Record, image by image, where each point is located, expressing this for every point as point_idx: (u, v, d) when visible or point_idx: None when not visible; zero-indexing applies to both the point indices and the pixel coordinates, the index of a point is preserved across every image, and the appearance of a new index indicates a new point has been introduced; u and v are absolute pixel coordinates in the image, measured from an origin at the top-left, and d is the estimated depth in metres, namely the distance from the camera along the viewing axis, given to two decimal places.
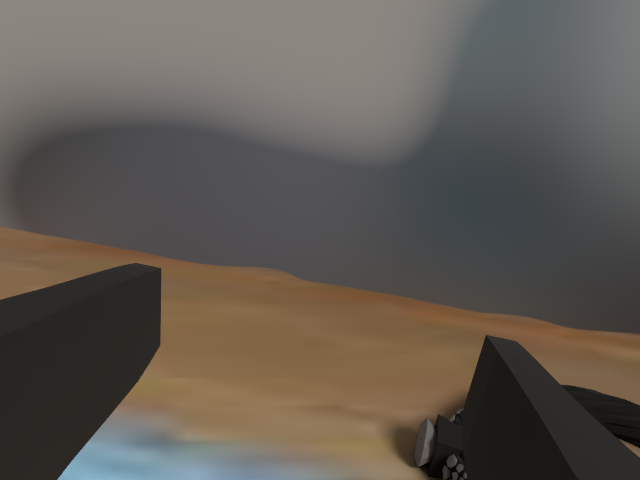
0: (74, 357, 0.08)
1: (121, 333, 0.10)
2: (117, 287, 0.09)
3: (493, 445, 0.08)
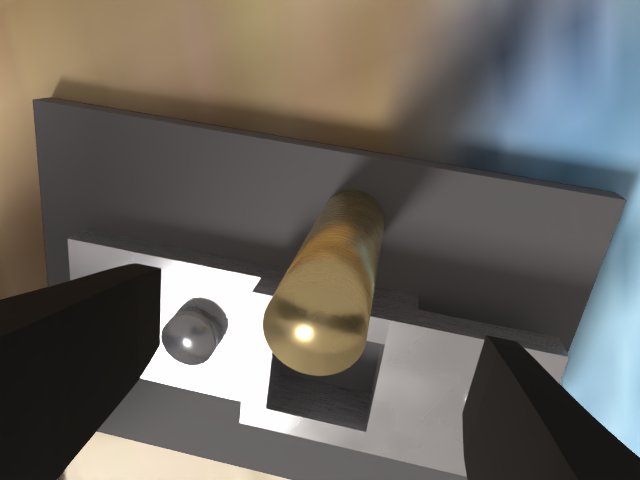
0: (74, 357, 0.08)
1: (121, 333, 0.10)
2: (117, 287, 0.09)
3: (492, 445, 0.08)
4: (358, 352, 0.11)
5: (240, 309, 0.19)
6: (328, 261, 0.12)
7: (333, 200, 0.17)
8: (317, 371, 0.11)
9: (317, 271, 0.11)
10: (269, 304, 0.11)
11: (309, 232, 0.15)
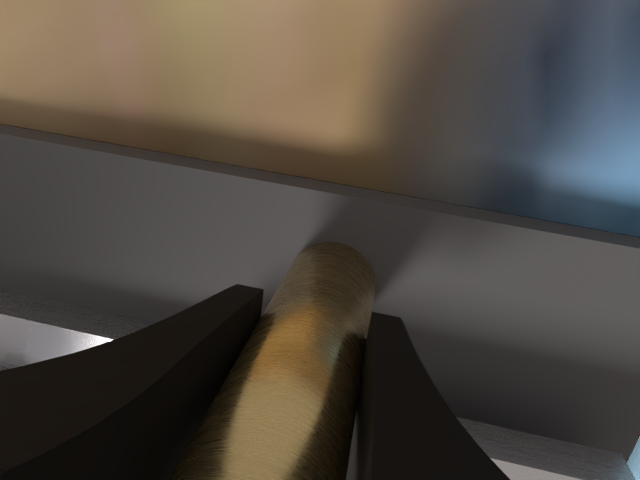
0: (204, 387, 0.08)
1: (235, 358, 0.09)
2: (237, 312, 0.09)
3: (358, 414, 0.09)
4: None
5: None
6: (267, 417, 0.07)
7: (302, 259, 0.12)
8: None
9: (240, 451, 0.06)
10: None
11: (259, 320, 0.10)
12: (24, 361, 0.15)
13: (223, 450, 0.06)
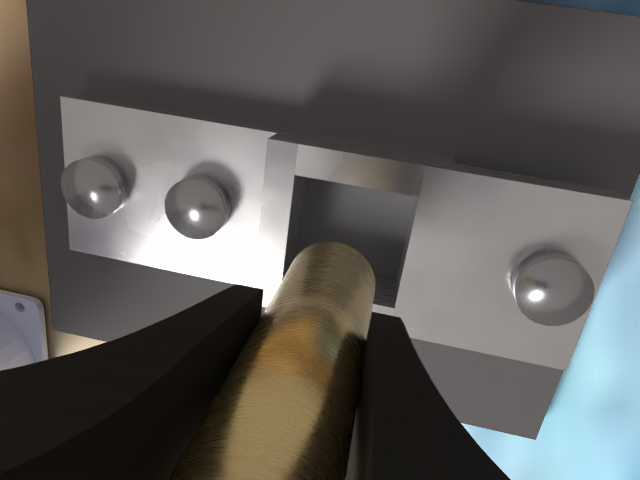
0: (204, 387, 0.08)
1: (235, 358, 0.09)
2: (237, 312, 0.09)
3: (358, 414, 0.09)
4: None
5: (253, 174, 0.17)
6: (267, 417, 0.07)
7: (302, 259, 0.12)
8: None
9: (239, 451, 0.06)
10: None
11: (259, 320, 0.10)
12: (121, 148, 0.18)
13: (223, 450, 0.06)
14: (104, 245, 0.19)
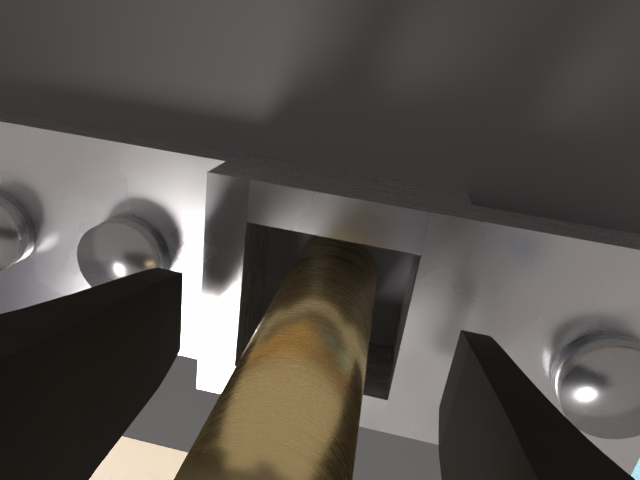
0: (102, 363, 0.08)
1: (145, 338, 0.10)
2: (142, 292, 0.09)
3: (462, 438, 0.08)
4: None
5: (196, 215, 0.13)
6: (285, 387, 0.07)
7: (307, 250, 0.13)
8: None
9: (262, 415, 0.07)
10: (179, 474, 0.06)
11: (269, 305, 0.11)
12: (22, 180, 0.13)
13: (246, 414, 0.07)
14: (10, 303, 0.15)
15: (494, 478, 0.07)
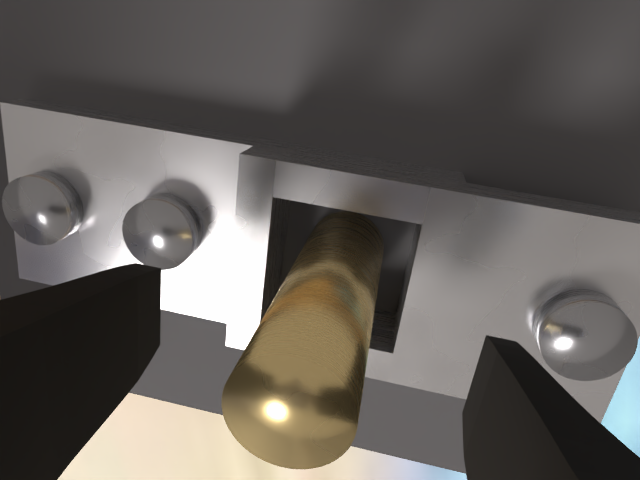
0: (74, 357, 0.08)
1: (121, 333, 0.10)
2: (117, 287, 0.09)
3: (492, 445, 0.08)
4: (346, 443, 0.08)
5: (226, 193, 0.15)
6: (309, 318, 0.09)
7: (323, 224, 0.15)
8: (293, 464, 0.09)
9: (292, 336, 0.09)
10: (229, 380, 0.08)
11: (292, 267, 0.13)
12: (72, 163, 0.15)
13: (280, 336, 0.09)
14: (58, 273, 0.17)
15: None
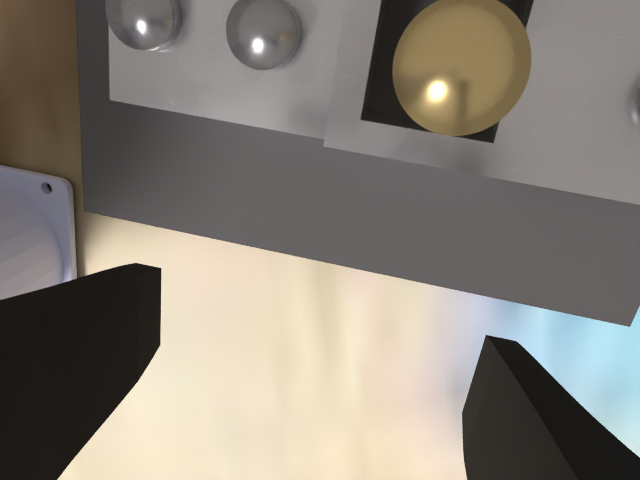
0: (74, 357, 0.08)
1: (121, 333, 0.10)
2: (117, 287, 0.09)
3: (492, 444, 0.08)
4: (515, 96, 0.09)
5: None
6: None
7: None
8: (458, 128, 0.09)
9: None
10: (405, 32, 0.09)
11: None
12: None
13: None
14: (149, 92, 0.17)
15: None
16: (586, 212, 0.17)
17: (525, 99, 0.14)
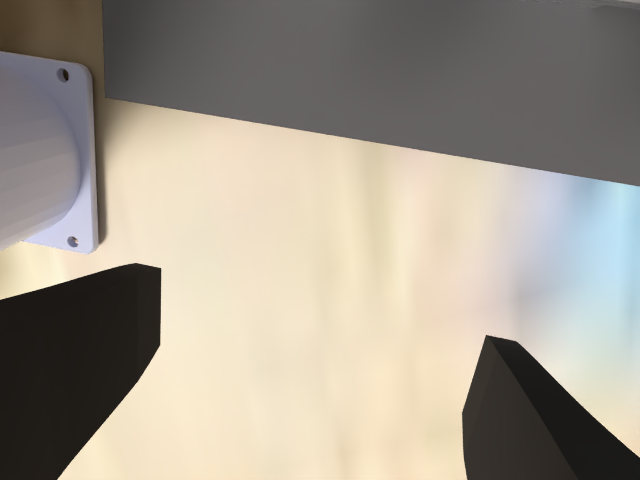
0: (74, 357, 0.08)
1: (121, 333, 0.10)
2: (117, 287, 0.09)
3: (493, 445, 0.08)
4: None
5: None
6: None
7: None
8: None
9: None
10: None
11: None
12: None
13: None
14: None
15: None
16: None
17: None
